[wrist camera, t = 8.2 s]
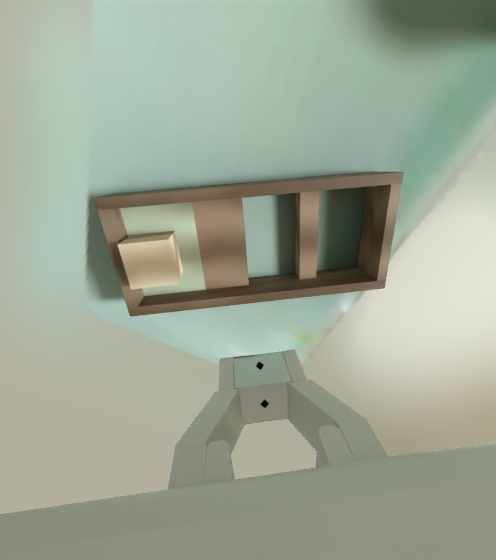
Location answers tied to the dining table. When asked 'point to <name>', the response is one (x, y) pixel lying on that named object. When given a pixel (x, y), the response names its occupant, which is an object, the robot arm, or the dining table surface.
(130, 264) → the block
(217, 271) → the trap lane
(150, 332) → the dining table surface
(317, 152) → the dining table surface
